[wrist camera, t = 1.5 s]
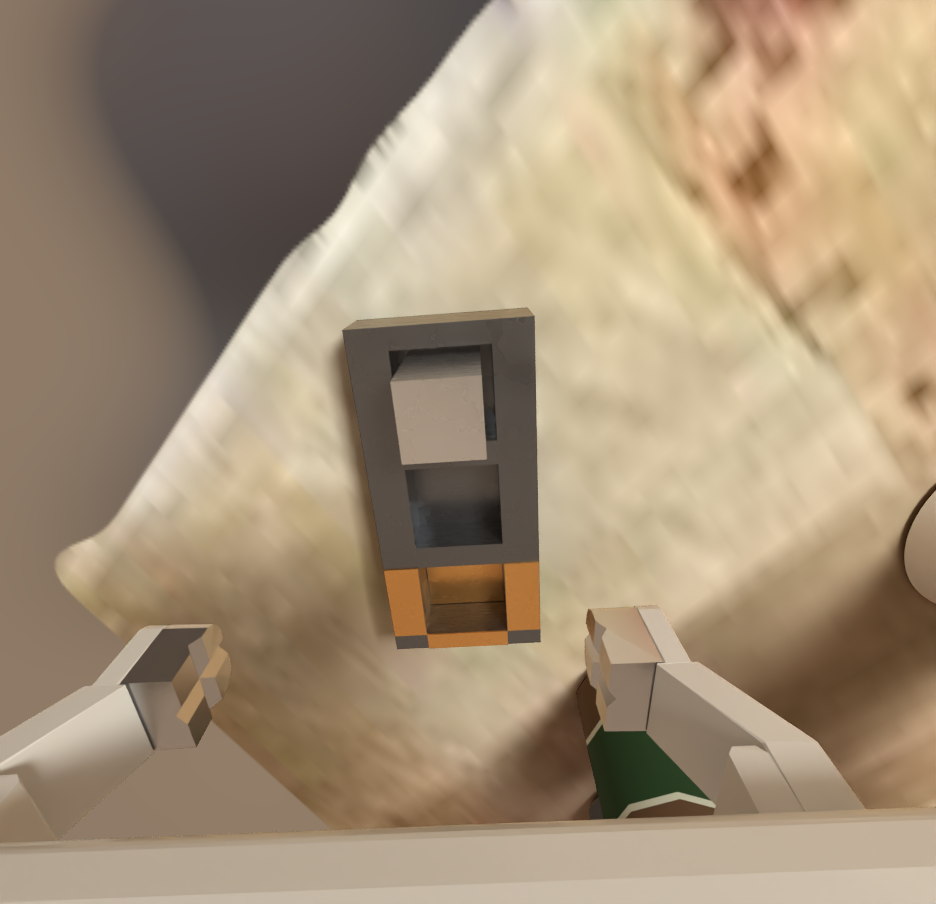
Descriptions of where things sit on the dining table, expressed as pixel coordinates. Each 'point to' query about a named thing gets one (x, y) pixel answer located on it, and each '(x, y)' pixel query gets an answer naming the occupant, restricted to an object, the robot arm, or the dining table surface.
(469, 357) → the block
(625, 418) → the dining table surface
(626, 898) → the robot arm
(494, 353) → the grey tray
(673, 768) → the beer bottle
